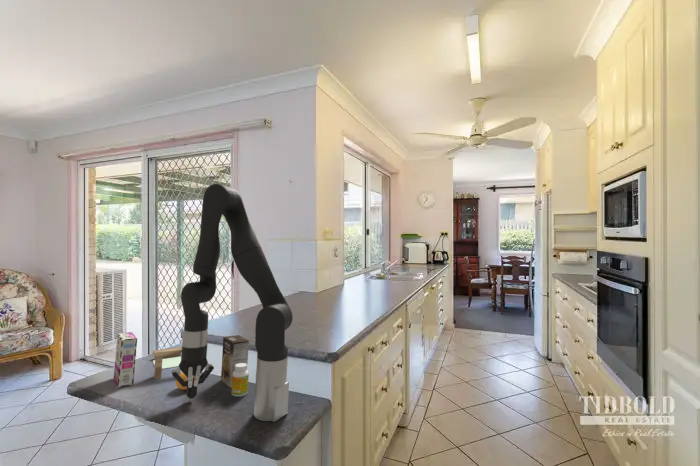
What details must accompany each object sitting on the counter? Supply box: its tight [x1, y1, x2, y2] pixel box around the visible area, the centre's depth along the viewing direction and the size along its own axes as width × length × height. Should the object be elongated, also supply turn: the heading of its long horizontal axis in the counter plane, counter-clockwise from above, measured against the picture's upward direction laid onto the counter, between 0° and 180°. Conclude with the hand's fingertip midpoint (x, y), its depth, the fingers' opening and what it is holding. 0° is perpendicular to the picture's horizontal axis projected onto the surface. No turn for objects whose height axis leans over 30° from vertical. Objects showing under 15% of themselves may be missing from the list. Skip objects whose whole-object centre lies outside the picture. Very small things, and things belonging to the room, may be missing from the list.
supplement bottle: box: [230, 363, 250, 397], centre depth 115 cm, size 5×5×10 cm
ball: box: [175, 371, 193, 391], centre depth 117 cm, size 6×6×6 cm
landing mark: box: [152, 356, 181, 370], centre depth 140 cm, size 12×12×1 cm
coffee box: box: [220, 334, 250, 389], centre depth 124 cm, size 9×6×16 cm
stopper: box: [154, 352, 182, 360], centre depth 147 cm, size 2×10×2 cm, turn 127°
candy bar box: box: [113, 332, 138, 389], centre depth 121 cm, size 11×5×16 cm, turn 42°
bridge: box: [152, 346, 182, 380], centre depth 129 cm, size 3×17×10 cm, turn 127°
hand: (191, 397), depth 108 cm, fingers closed
